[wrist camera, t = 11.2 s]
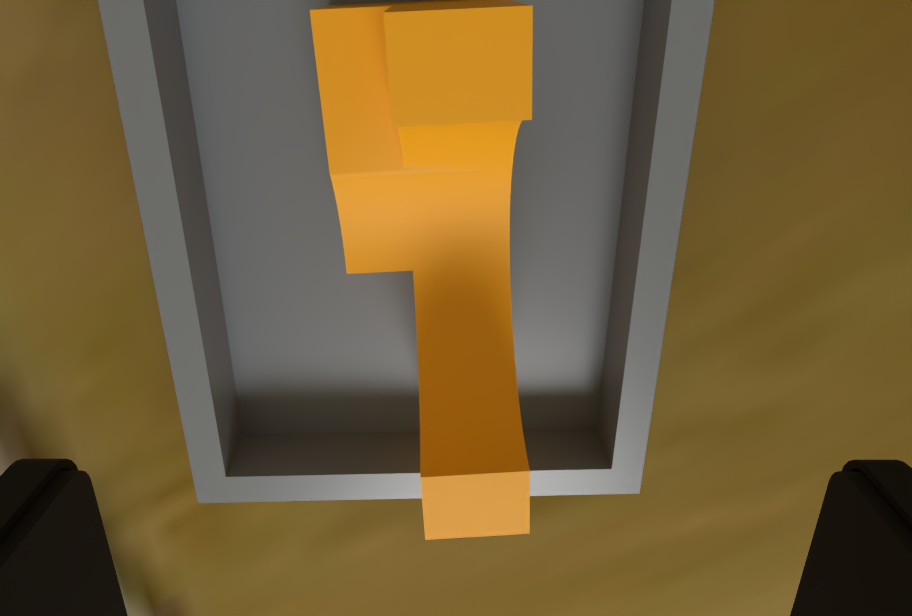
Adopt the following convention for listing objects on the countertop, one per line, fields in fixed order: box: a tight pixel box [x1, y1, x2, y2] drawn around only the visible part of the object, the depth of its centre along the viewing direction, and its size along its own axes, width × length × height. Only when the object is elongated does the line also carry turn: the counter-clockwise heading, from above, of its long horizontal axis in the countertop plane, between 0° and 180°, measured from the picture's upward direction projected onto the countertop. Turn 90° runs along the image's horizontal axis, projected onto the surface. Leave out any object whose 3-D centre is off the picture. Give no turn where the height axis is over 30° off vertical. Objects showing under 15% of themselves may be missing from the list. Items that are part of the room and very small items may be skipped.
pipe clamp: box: [310, 0, 533, 540], centre depth 17 cm, size 12×4×6 cm, turn 2°
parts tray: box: [98, 0, 715, 503], centre depth 20 cm, size 14×17×3 cm
